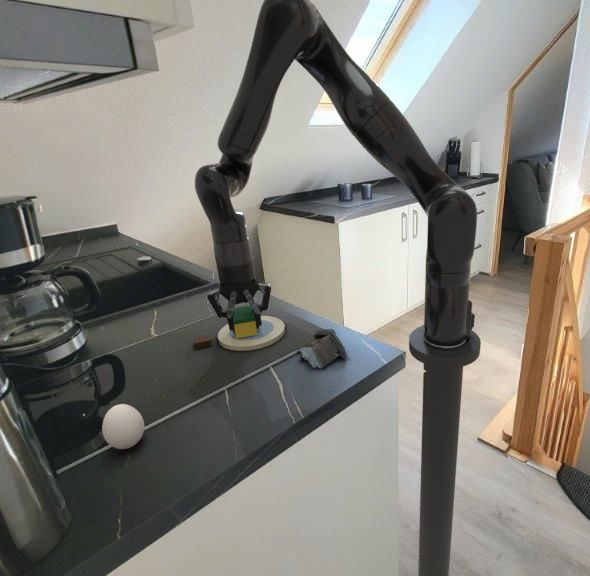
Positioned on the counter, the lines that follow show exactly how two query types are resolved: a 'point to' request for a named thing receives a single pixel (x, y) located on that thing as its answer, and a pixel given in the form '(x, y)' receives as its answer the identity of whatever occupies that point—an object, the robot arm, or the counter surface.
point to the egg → (122, 426)
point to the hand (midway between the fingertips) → (246, 328)
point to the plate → (265, 336)
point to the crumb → (202, 341)
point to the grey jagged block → (323, 348)
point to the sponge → (244, 322)
